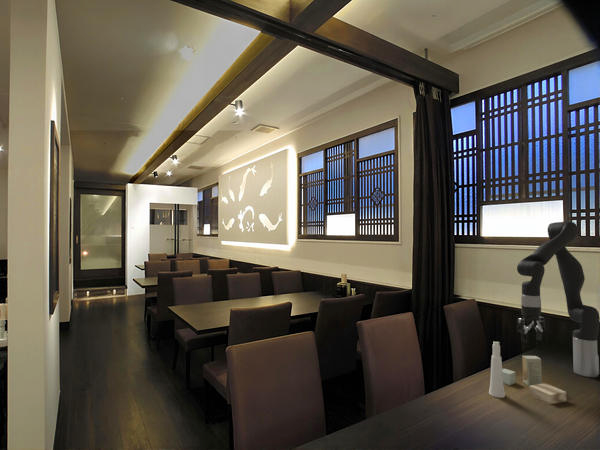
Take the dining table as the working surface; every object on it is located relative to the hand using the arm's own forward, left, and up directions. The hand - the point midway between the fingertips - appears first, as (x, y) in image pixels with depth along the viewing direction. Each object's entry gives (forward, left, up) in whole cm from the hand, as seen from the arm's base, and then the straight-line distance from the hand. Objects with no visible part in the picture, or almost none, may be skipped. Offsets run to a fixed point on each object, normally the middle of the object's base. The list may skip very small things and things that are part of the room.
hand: (531, 340), depth 160 cm
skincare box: (0, 0, -20) cm, 20 cm away
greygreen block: (+9, -5, -20) cm, 22 cm away
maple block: (+6, +12, -20) cm, 24 cm away
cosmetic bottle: (+24, +4, -20) cm, 31 cm away
